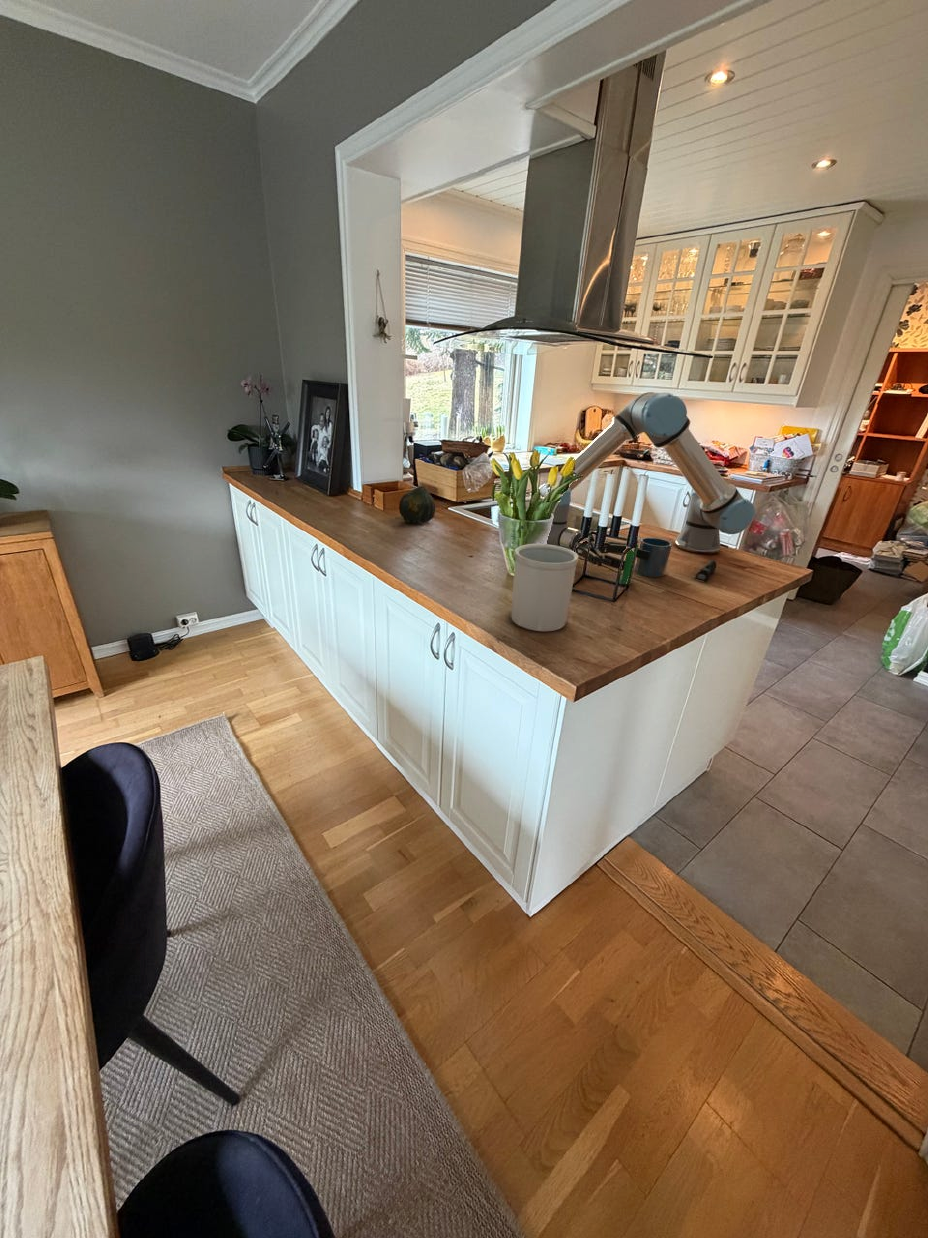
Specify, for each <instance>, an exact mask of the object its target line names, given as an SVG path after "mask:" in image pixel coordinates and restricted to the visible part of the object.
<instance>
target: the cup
mask: <svg viewBox="0 0 928 1238" xmlns="http://www.w3.org/2000/svg"><path fill="white" fill-rule="evenodd" d="M638 548H639V549H642V550H646V551H649V552H650V557H649V561H646V560H643V559H640V558H636V561H635V566H634V572H636V573H637V574H639V575H641V576H643V577H650V578H661V577H664V576H665V575H666V571H667V567H668V562H669V558H670V554H671V550H672V542H671V541H669V540H666V539H663V538H658V537H643V538H640V542H639V547H638Z"/></svg>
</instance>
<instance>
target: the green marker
mask: <svg viewBox="0 0 928 1238" xmlns="http://www.w3.org/2000/svg"><path fill="white" fill-rule="evenodd" d="M637 537H638V536H637ZM640 543H641V538H640V537H638V543H637V547H636V551H635V560H634V564H633V570H632V575H631V581H630V583H629V584H628V585H631V584H632V583H631V582H632V578H633V573H634V570H635V565H636V560H637V558H636V554H637V550H638V548H639V546H640ZM633 555H634V552H633V551H632V550H631V551H629V552H628V553H627V555H626V554H625V558H624V560H625V566H624V570H622V575H621V579H620V584H622V585H627V584H626V582H627V579H628V576H629V574H630V570H631V563H632V560H633Z"/></svg>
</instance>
